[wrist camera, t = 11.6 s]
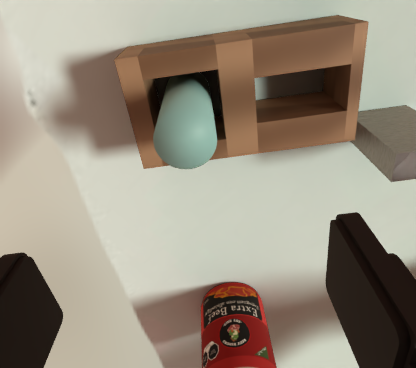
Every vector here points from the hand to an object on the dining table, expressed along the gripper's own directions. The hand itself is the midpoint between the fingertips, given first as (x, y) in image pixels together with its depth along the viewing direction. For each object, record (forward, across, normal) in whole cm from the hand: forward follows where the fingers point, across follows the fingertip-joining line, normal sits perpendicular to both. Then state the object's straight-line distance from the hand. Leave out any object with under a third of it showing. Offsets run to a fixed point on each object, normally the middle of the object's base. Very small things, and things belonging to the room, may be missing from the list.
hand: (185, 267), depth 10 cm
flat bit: (+20, -16, +5) cm, 26 cm away
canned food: (+20, -1, +27) cm, 33 cm away
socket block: (+20, -4, 0) cm, 20 cm away
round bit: (+20, 0, 0) cm, 20 cm away
